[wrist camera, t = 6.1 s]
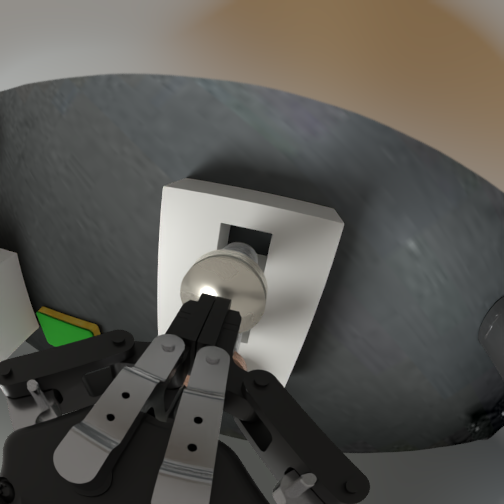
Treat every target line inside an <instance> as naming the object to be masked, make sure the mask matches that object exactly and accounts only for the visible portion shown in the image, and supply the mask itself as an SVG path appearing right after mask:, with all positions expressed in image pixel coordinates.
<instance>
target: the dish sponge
mask: <svg viewBox="0 0 504 504" xmlns="http://www.w3.org/2000/svg"><path fill="white" fill-rule="evenodd" d="M36 314H37V317H38V319H39V322H40V324H41V327H42V329H43V332H44V334H45V336H46V339H47V341H48V343H49V344H51V345H53V346H55V347H57V346H61V345H65V344H68V343H72V342H76V341H79V340H83V339H86V338H90V337H93V336H96V335H100V331H99V328H98V326H97V325H96V324H93V323H90V322H87V321H84V320H80V319H77V318H74V317H71V316H68V315H65V314H63V313H60V312H57V311H54V310H51V309H49V308H46V307H42V308H41V309H39V311H37V312H36Z"/></svg>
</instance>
